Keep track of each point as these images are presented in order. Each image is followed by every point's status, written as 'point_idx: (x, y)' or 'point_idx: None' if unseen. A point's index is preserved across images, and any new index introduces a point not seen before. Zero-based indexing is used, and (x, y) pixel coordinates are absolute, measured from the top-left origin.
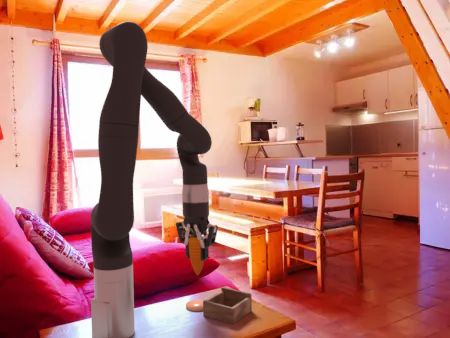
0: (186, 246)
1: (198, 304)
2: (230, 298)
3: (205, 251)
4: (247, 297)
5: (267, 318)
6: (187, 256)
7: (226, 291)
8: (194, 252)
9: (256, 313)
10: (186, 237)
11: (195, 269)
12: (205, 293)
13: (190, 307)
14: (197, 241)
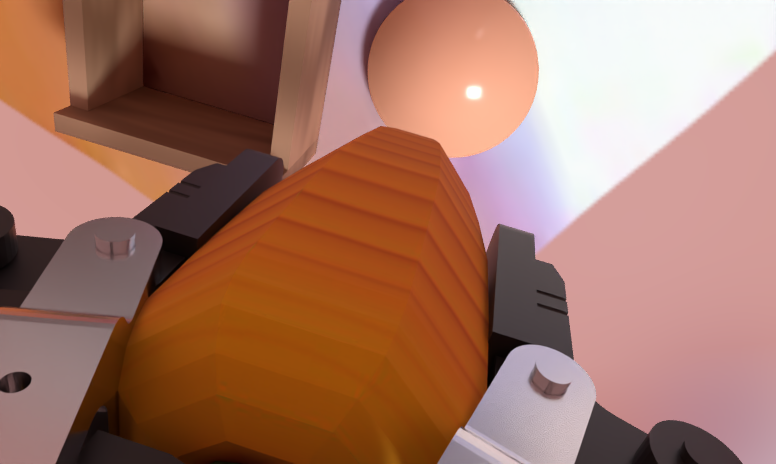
0: (537, 336)
1: (444, 72)
2: (233, 137)
3: (145, 209)
4: (86, 105)
5: (13, 25)
6: (519, 236)
7: None
8: (324, 173)
9: None
10: (508, 458)
11: (403, 131)
12: None
13: (480, 4)
14: (174, 302)
